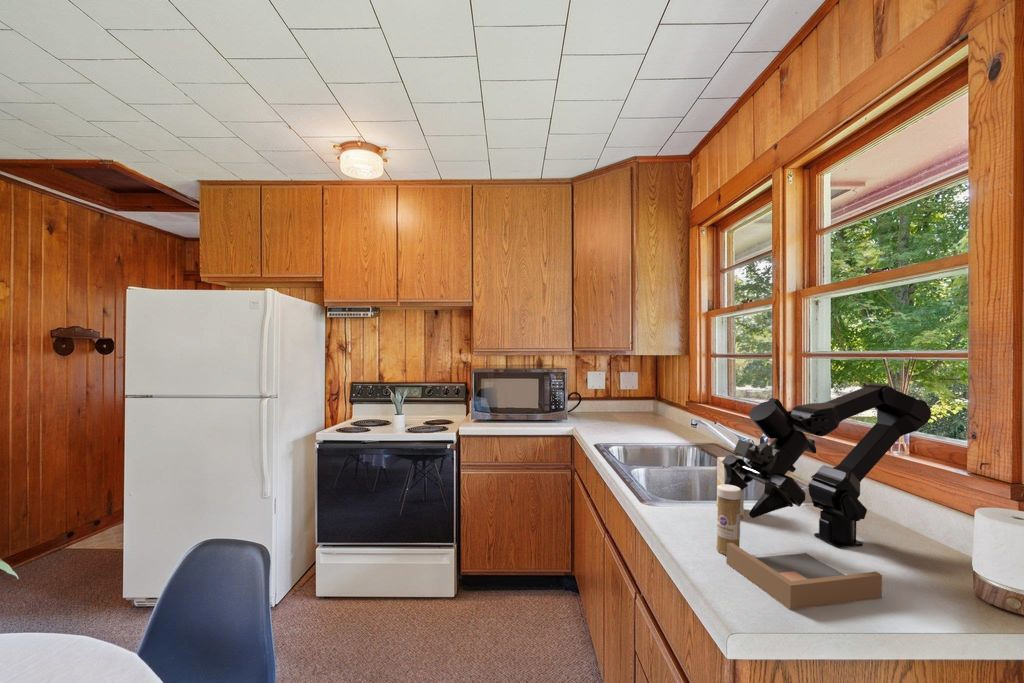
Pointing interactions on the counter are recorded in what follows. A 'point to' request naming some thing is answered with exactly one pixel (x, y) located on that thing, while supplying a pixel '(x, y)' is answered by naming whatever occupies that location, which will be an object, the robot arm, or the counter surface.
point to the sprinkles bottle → (728, 516)
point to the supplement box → (722, 478)
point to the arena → (803, 579)
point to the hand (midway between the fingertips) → (735, 508)
